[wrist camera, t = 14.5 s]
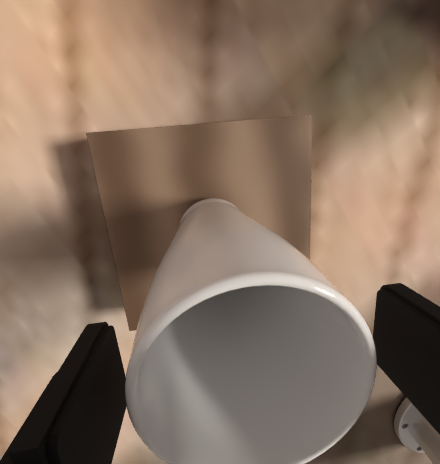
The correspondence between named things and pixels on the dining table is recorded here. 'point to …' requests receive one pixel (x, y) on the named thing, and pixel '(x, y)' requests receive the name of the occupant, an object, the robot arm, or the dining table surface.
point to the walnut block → (198, 186)
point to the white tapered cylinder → (244, 348)
